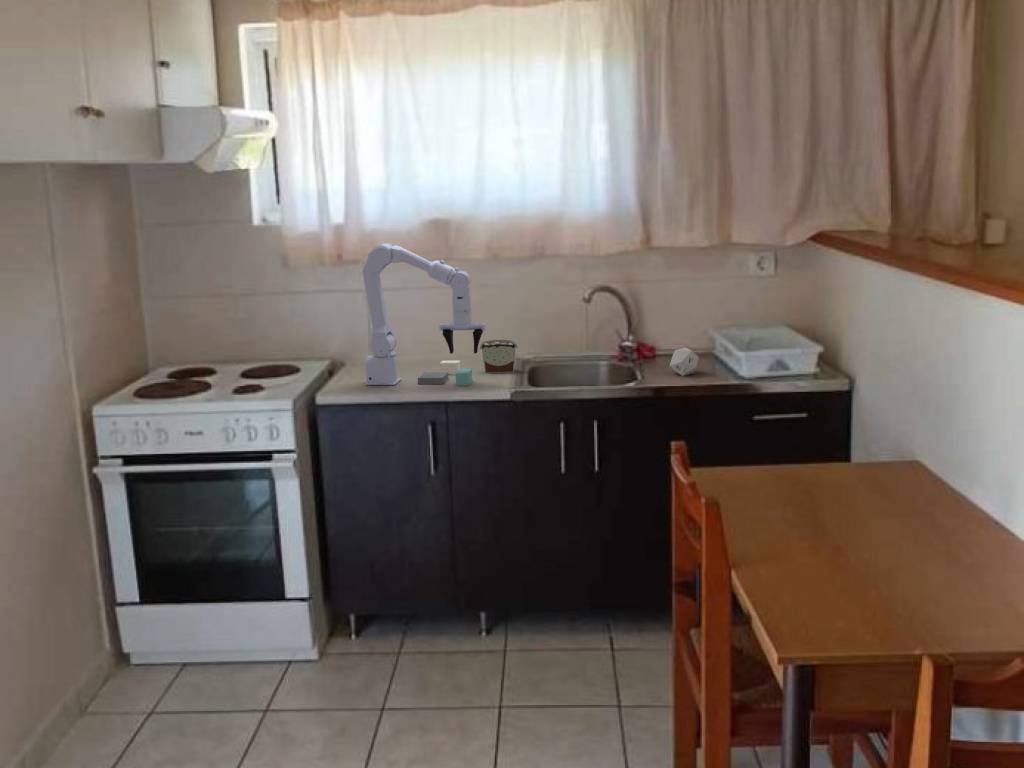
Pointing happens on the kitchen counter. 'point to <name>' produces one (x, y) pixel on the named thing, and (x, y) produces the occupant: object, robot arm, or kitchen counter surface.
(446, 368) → the cream brick
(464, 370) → the teal brick
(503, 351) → the food container
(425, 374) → the charcoal slab
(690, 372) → the die
